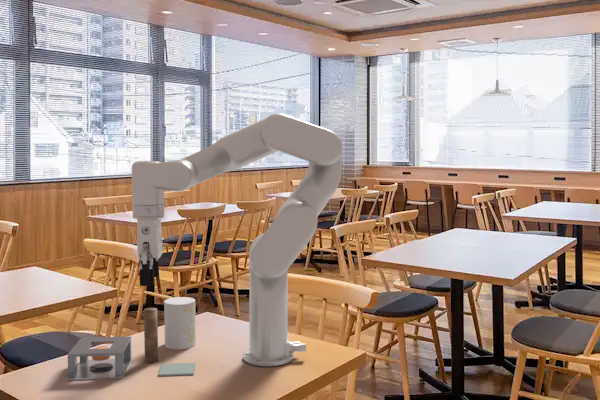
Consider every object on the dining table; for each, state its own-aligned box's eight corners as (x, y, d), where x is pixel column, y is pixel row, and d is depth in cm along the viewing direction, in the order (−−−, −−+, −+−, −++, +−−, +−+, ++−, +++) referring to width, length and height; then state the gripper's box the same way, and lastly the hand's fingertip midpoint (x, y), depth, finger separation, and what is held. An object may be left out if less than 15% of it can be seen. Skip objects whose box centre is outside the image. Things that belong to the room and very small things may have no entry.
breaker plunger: (111, 354, 144) (111, 346, 143) (107, 360, 140) (107, 351, 139) (94, 355, 143) (94, 346, 143) (90, 361, 139) (90, 352, 139)
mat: (195, 364, 146) (195, 362, 146) (193, 374, 139) (193, 373, 139) (162, 365, 145) (162, 363, 145) (158, 376, 138) (158, 374, 138)
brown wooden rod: (158, 358, 150) (158, 307, 148) (157, 362, 146) (156, 310, 145) (145, 358, 149) (144, 307, 148) (143, 363, 146) (143, 311, 145)
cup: (188, 350, 156) (188, 305, 155) (159, 348, 157) (159, 303, 156) (200, 340, 163) (199, 297, 162) (172, 338, 165) (171, 296, 164)
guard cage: (131, 360, 148) (131, 336, 148) (122, 378, 136) (122, 352, 136) (81, 361, 147) (81, 337, 146) (68, 380, 135) (67, 354, 135)
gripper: (159, 215, 137) (161, 289, 138) (168, 208, 154) (169, 273, 155) (126, 215, 136) (127, 289, 137) (138, 208, 153) (139, 274, 154)
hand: (149, 281), depth 146 cm, fingers open, 9 cm apart
